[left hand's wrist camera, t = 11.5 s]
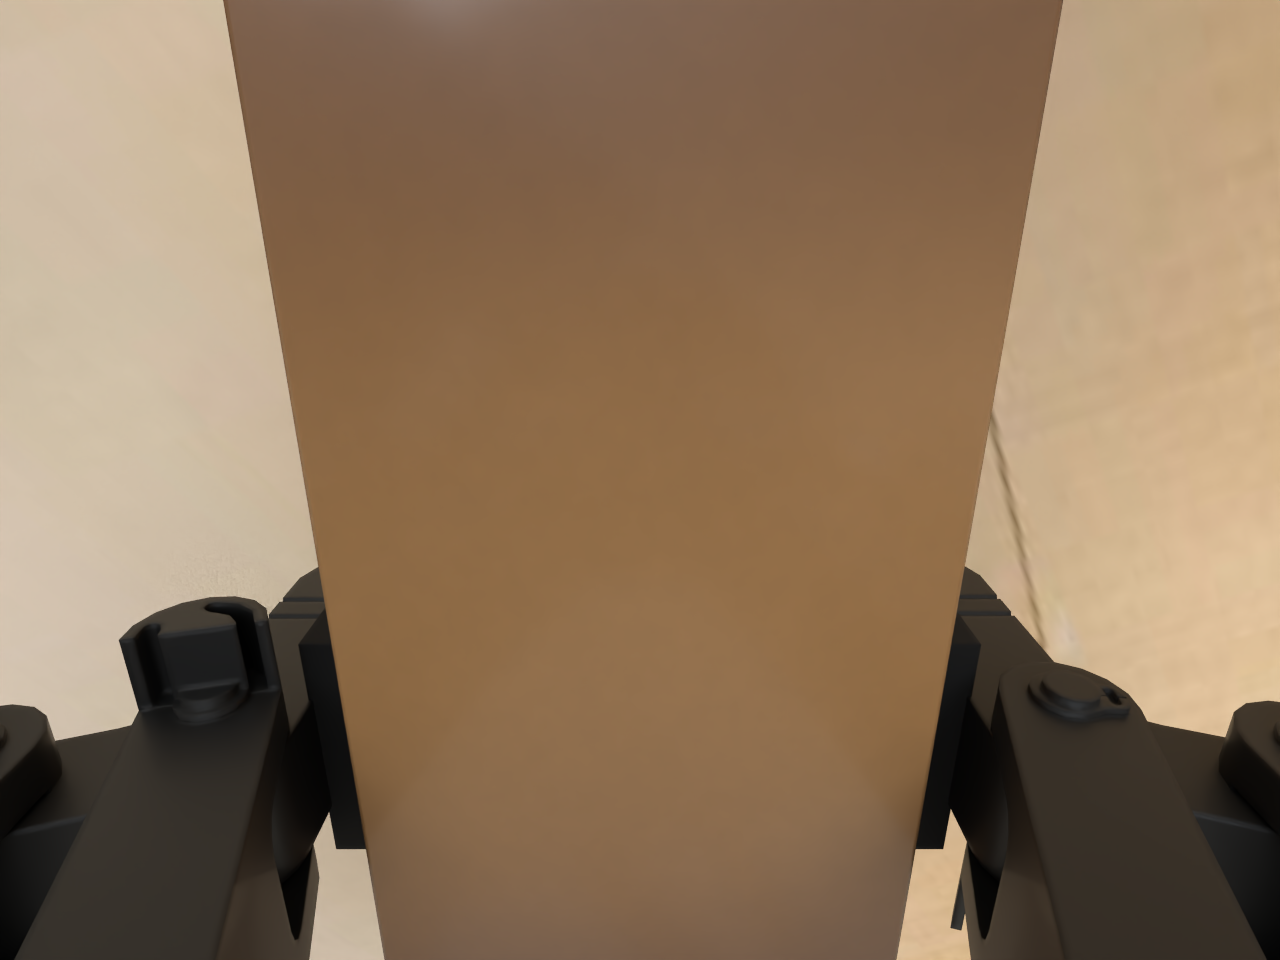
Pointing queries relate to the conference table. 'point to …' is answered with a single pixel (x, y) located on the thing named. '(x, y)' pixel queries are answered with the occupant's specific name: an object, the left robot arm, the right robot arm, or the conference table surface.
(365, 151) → the bar
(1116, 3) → the conference table surface
